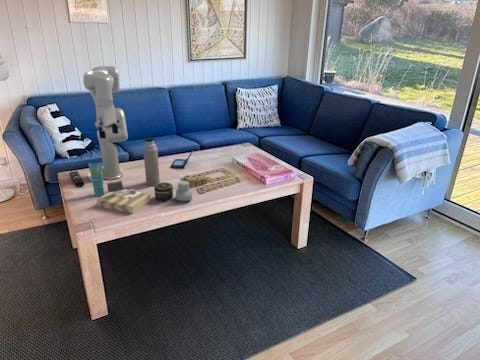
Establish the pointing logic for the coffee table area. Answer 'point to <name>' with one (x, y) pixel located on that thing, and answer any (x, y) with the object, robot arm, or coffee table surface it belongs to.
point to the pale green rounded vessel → (183, 191)
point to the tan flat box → (124, 201)
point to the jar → (163, 191)
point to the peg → (116, 188)
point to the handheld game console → (180, 163)
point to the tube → (97, 178)
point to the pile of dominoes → (211, 180)
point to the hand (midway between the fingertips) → (109, 135)
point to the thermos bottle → (151, 162)
